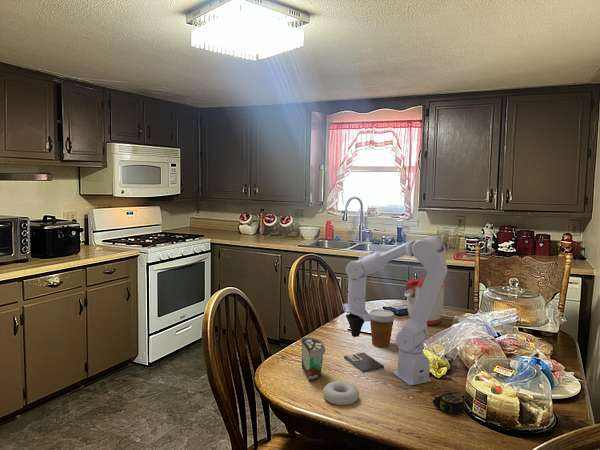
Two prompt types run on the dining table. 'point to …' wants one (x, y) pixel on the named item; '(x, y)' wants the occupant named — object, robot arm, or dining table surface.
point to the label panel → (363, 362)
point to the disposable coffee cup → (381, 327)
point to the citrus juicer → (412, 295)
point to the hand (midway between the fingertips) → (355, 336)
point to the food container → (312, 357)
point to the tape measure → (450, 403)
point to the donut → (340, 393)
